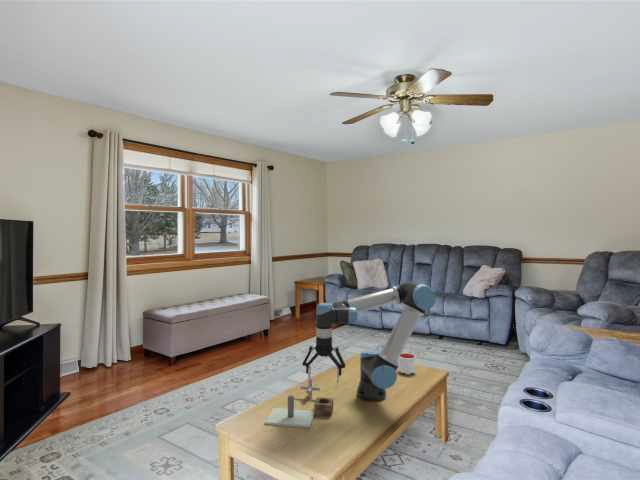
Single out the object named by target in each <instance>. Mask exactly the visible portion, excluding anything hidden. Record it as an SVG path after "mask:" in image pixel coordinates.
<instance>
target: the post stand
mask: <svg viewBox="0 0 640 480" xmlns="http://www.w3.org/2000/svg"><path fill="white" fill-rule="evenodd" d="M314 418H315V415H314V410H305V409H295V396H294V395H291V394H290V395H288V396H287V408H280V407H278V408H277V407H273V408H272V410H271V411H270V413H269V415H268V417H267V418H266V420H265V421H264V424H265V425H268V426H269V425H270V426H280V427H292V428H305V429H307V428H308V429H311V425H312V423H313V420H314Z"/></svg>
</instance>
